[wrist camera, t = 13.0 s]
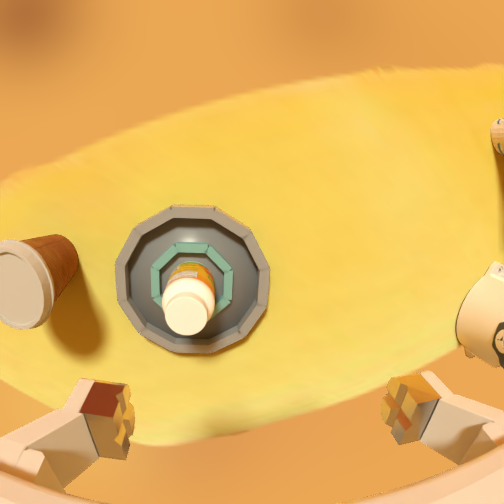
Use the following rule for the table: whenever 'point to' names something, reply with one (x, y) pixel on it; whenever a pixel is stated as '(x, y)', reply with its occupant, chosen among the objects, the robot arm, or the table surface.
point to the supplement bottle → (189, 298)
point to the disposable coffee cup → (33, 278)
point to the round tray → (199, 250)
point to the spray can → (498, 135)
